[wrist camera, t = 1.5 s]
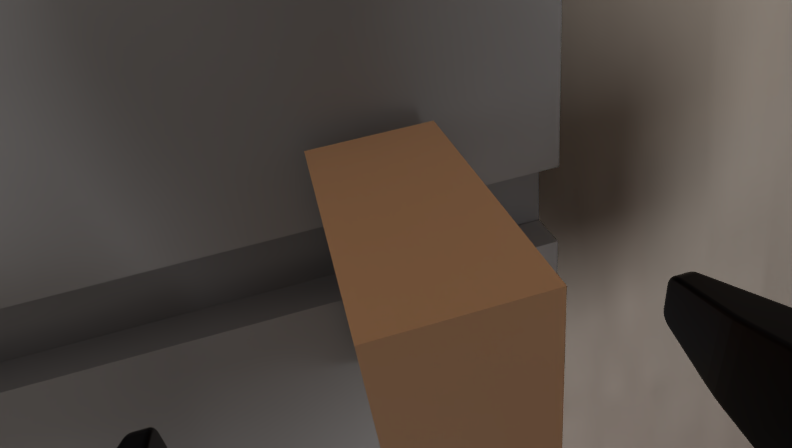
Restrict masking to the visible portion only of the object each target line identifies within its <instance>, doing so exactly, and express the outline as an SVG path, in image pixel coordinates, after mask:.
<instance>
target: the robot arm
mask: <svg viewBox="0 0 792 448" xmlns="http://www.w3.org/2000/svg"><path fill="white" fill-rule="evenodd" d="M664 317H665V320H666V322H667V324H668V326H669V328H670V329H671V331H672V332H673V334H674V336H675V337H676V339H677V340H678V342H679V343H680V345H681V347H682V348H683V350H684V351H685V353H686V354H687V356H688V358H689V359H690V361H691V362H692V364H693V365H694V367H695V368H696V370H697V372H698V373H699V375H700V376H701V378H702V379H703V381H704V383H705V384H706V386H707V387H708V389H709V390H710V391H711V393H712V394H713V396H714V397H715V399H716V400H717V401H718V402H719V404H720V405H721V406H722V408H723V409H724V410H725V412H726V413H727V414H728V415H729V417H730V418H731V419H732V420H733V422H734V423H735V424H736V425H737V427H738V428H739V429H740V430H741V432H742V433H743V434H744V436H745V437H746V438H747V439H748V441H749V442H750V443H751V444H752V446H753V447H754V448H792V308H791V307H788V306H786V305H783V304H780V303H778V302H775V301H772V300H770V299H767V298H764V297H762V296H759V295H756V294H753V293H751V292H748V291H745V290H743V289H740V288H737V287H735V286H732V285H729V284H727V283H724V282H721V281H719V280H716V279H713V278H711V277H708V276H705V275H702V274H700V273H697V272H687V273H684V274H680V275H677V276H673V277H672V278H671V279H670V280H669V282H668V286H667V293H666V299H665V305H664ZM117 448H168V447H167V446H166V444H165V442H164V441H163V439H162V437H161V436H160V434H159V432H158V431H157V430H156V429H155V428H153V427H148V428H144V429H141V430H137V431H134V432H131V433H128V434H127V435H126V436H125V437H124V438H123V439H122V441H121V442H120V444H119V445H118V447H117Z"/></svg>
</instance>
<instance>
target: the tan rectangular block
mask: <svg viewBox="0 0 792 448" xmlns="http://www.w3.org/2000/svg"><path fill="white" fill-rule="evenodd" d="M304 153H305V157H306V161H307V165H308V169H309V173H310V176H311V180H312V184H313V188H314V192H315V196H316V200H317V204H318V208H319V211H320V215H321V219H322V223H323V227H324V231H325V235H326V239H327V242H328V246H329V250H330V254H331V258H332V262H333V266H334V270H335V273H336V277H337V281H338V285H339V289H340V293H341V297H342V301H343V304H344V308H345V312H346V316H347V320H348V324H349V328H350V332H351V336H352V339H353V343H354V347H355V351H356V355H357V359H358V363H359V367H360V370H361V374H362V378H363V382H364V386H365V390H366V394H367V398H368V401H369V405H370V409H371V413H372V417H373V421H374V425H375V429H376V433H377V436H378V440H379V444H380V448H562V431H563V397H564V363H565V328H566V294H567V286H566V284H565V283H564V282H563V281H562V279H561V278H560V277H559V276H558V274H557V273H556V272H555V271H554V269H553V268H552V267H551V266H550V265H549V263H548V262H547V261H546V260H545V258H544V257H543V256H542V255H541V253H540V252H539V251H538V250H537V248H536V247H535V246H534V245H533V243H532V242H531V241H530V240H529V238H528V237H527V236H526V235H525V233H524V232H523V231H522V230H521V228H520V227H519V226H518V225H517V223H516V222H515V221H514V220H513V219H512V217H511V216H510V215H509V214H508V212H507V211H506V210H505V209H504V207H503V206H502V205H501V204H500V202H499V201H498V200H497V199H496V197H495V196H494V195H493V194H492V192H491V191H490V190H489V189H488V187H487V186H486V185H485V184H484V182H483V181H482V180H481V179H480V177H479V176H478V175H477V174H476V173H475V171H474V170H473V169H472V168H471V166H470V165H469V164H468V163H467V161H466V160H465V159H464V158H463V156H462V155H461V154H460V153H459V151H458V150H457V149H456V148H455V146H454V145H453V144H452V143H451V141H450V140H449V139H448V138H447V136H446V135H445V134H444V133H443V132H442V130H441V129H440V128H439V127H438V125H437V124H436V123H435V122H434V120H433V121H429V122H425V123H421V124H417V125H412V126H408V127H404V128H400V129H395V130H391V131H387V132H383V133H378V134H374V135H370V136H366V137H362V138H357V139H353V140H349V141H345V142H340V143H336V144H332V145H328V146H324V147H319V148H315V149H311V150H307V151H304Z"/></svg>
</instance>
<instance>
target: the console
mask: <svg viewBox="0 0 792 448" xmlns="http://www.w3.org/2000/svg"><path fill="white" fill-rule="evenodd" d="M561 29H562V0H0V448H117V447H118V445H119V444H120V442H121V441H122V439H123V438H124V437H125V436H126V435H127V434H128V433H131V432H134V431H137V430H141V429H144V428H148V427H153V428H155V429H156V430H157V431H158V432H159V434H160V436H161V437H162V439H163V441H164V442H165V444H166V446H167V447H168V448H380V444H379V440H378V436H377V433H376V429H375V425H374V421H373V417H372V413H371V409H370V405H369V401H368V398H367V394H366V390H365V386H364V382H363V378H362V374H361V370H360V367H359V363H358V359H357V355H356V351H355V347H354V343H353V339H352V336H351V332H350V328H349V324H348V320H347V316H346V312H345V308H344V304H343V301H342V297H341V293H340V289H339V285H338V281H337V277H336V273H335V270H334V266H333V262H332V258H331V254H330V250H329V246H328V242H327V239H326V235H325V231H324V227H323V223H322V219H321V215H320V211H319V208H318V204H317V200H316V196H315V192H314V188H313V184H312V180H311V176H310V173H309V169H308V165H307V161H306V157H305V153H304V151H307V150H311V149H315V148H319V147H324V146H328V145H332V144H336V143H340V142H345V141H349V140H353V139H357V138H362V137H366V136H370V135H374V134H378V133H383V132H387V131H391V130H395V129H400V128H404V127H408V126H412V125H417V124H421V123H425V122H429V121H433V120H434V122H435V123H436V124H437V125H438V127H439V128H440V129H441V130H442V132H443V133H444V134H445V135H446V136H447V138H448V139H449V140H450V141H451V143H452V144H453V145H454V146H455V148H456V149H457V150H458V151H459V153H460V154H461V155H462V156H463V158H464V159H465V160H466V161H467V163H468V164H469V165H470V166H471V168H472V169H473V170H474V171H475V173H476V174H477V175H478V176H479V177H480V179H481V180H482V181H483V182H484V184H485V185H486V186H487V187H488V189H489V190H490V191H491V192H492V194H493V195H494V196H495V197H496V199H497V200H498V201H499V202H500V204H501V205H502V206H503V207H504V209H505V210H506V211H507V212H508V214H509V215H510V216H511V217H512V219H513V220H514V221H515V222H516V223H517V225H518V226H519V227H520V228H521V230H522V231H523V232H524V233H525V235H526V236H527V237H528V238H529V240H530V241H531V242H532V243H533V245H534V246H535V247H536V248H537V250H538V251H539V252H540V253H541V255H542V256H543V257H544V258H545V260H546V261H547V262H548V263H549V265H550V266H551V267H552V268H553V269H554V271H555V272H556V273H557V263H558V241H557V240H556V239H555V238H554V236H553V235H552V234H551V233H550V232H549V231H548V230H547V229H546V227H545V226H544V225H543V224H542V223H541V222H540V221H539V172H540V171H544V170H548V169H552V168H556V167H559V146H560V87H561Z"/></svg>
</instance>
